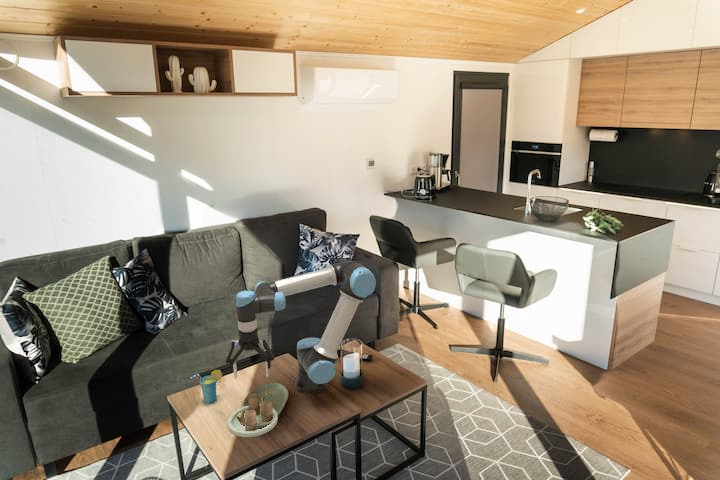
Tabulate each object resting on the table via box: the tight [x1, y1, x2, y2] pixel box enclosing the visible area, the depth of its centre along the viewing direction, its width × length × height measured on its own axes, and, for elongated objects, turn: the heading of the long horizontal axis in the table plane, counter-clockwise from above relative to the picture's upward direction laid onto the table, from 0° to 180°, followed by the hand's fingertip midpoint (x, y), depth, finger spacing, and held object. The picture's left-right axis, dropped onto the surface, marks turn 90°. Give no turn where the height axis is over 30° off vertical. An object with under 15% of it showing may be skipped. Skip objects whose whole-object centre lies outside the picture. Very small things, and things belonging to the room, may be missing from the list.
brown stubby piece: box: [247, 393, 261, 415], centre depth 209 cm, size 5×5×8 cm
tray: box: [227, 405, 279, 438], centre depth 204 cm, size 20×20×2 cm
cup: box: [189, 369, 223, 405], centre depth 219 cm, size 14×8×15 cm, turn 128°
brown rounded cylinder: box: [259, 400, 273, 422], centre depth 204 cm, size 5×5×8 cm
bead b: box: [244, 410, 257, 431], centre depth 198 cm, size 5×5×8 cm
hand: (251, 376), depth 205 cm, fingers open, 12 cm apart
